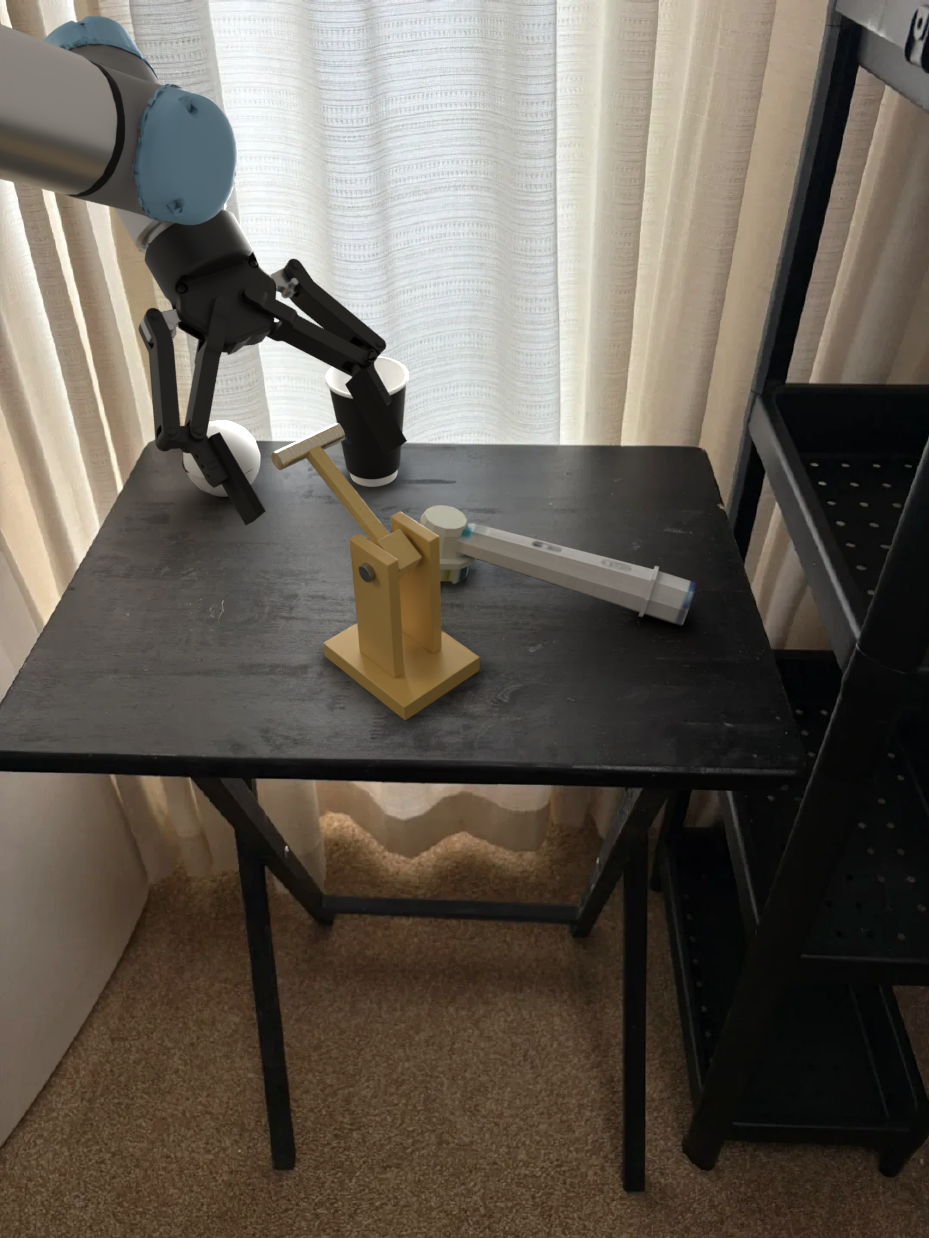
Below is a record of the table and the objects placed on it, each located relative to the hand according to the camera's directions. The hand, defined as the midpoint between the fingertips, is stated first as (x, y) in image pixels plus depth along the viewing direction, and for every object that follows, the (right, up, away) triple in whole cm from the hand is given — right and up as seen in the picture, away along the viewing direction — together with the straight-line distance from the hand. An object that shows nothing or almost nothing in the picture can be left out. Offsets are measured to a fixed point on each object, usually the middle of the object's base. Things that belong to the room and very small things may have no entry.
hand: (329, 482), depth 80 cm
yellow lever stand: (+5, -14, +5) cm, 16 cm away
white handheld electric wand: (+17, -8, +12) cm, 23 cm away
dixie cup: (+1, +4, +26) cm, 26 cm away
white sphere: (-13, +1, +23) cm, 26 cm away
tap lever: (+2, -2, 0) cm, 3 cm away
